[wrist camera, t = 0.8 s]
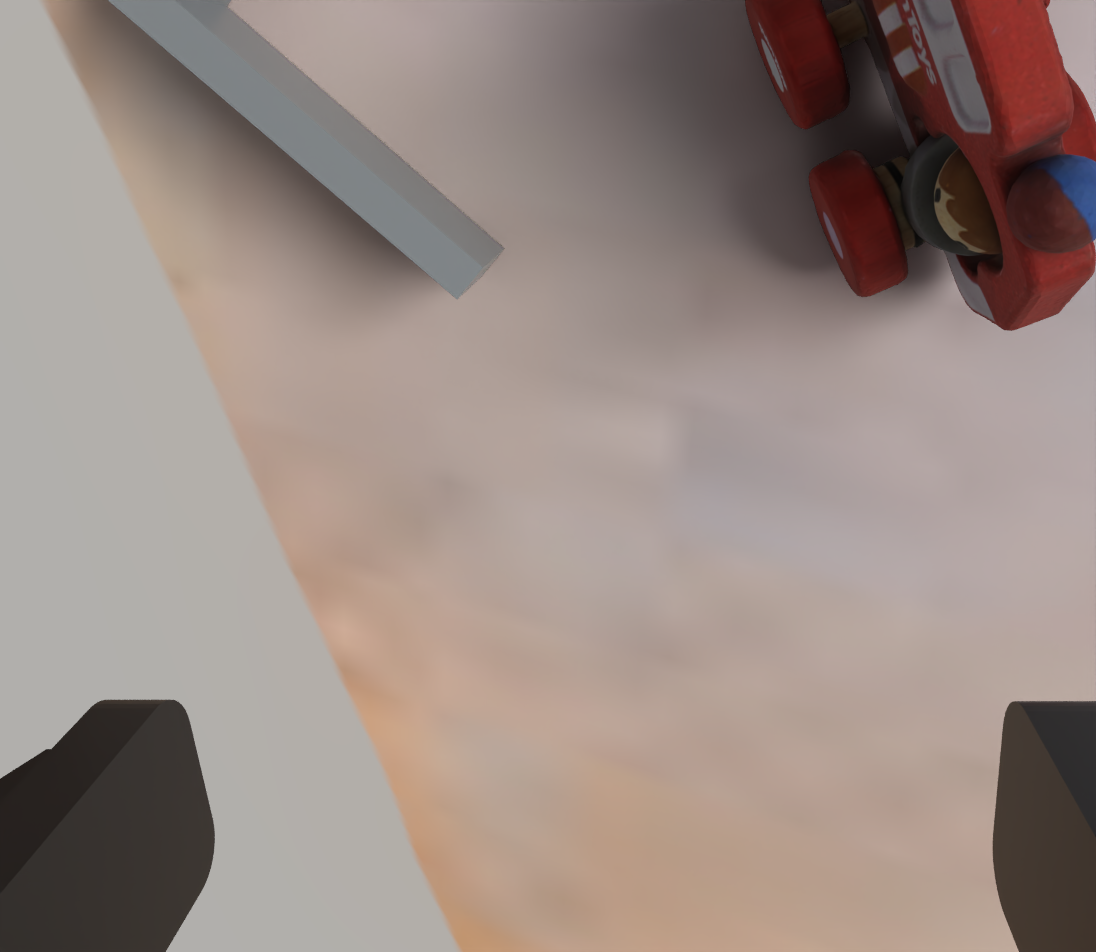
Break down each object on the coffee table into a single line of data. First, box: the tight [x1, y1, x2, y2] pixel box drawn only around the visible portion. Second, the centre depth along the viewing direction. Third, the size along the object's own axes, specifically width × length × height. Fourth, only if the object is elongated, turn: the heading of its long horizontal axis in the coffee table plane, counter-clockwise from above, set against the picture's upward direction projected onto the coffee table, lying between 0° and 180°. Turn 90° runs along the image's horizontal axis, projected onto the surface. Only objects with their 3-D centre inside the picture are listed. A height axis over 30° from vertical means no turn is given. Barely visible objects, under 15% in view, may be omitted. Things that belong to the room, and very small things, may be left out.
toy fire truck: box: [745, 0, 1096, 331], centre depth 25 cm, size 7×12×10 cm, turn 25°
